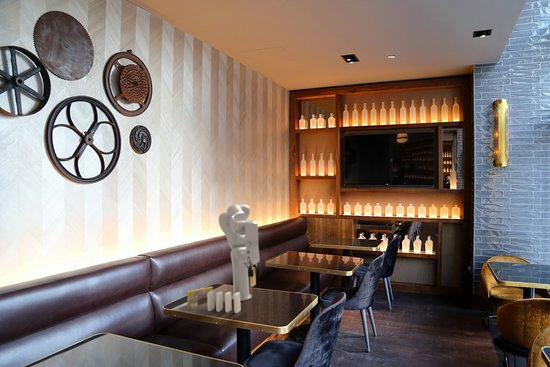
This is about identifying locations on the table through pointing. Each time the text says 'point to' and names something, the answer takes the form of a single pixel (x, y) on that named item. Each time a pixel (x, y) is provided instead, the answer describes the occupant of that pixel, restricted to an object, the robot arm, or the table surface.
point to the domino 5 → (253, 278)
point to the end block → (192, 302)
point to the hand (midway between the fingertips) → (252, 275)
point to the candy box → (199, 294)
